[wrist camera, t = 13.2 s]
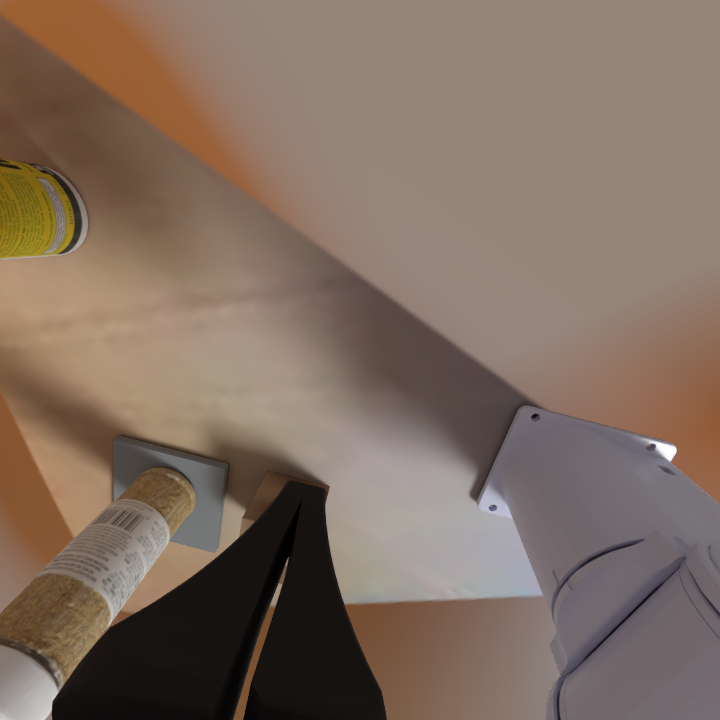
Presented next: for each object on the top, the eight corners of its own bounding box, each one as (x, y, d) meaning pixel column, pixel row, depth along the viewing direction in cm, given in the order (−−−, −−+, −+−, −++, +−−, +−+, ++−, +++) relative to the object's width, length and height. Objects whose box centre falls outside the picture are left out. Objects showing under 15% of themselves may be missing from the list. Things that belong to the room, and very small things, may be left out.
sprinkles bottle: (132, 500, 27) (-103, 743, 14) (145, 454, 25) (-107, 681, 13) (190, 525, 27) (11, 784, 14) (207, 480, 25) (21, 729, 13)
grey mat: (228, 464, 25) (225, 469, 25) (218, 546, 28) (214, 552, 28) (119, 435, 26) (113, 439, 25) (119, 520, 28) (113, 526, 28)
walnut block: (329, 486, 25) (315, 540, 21) (318, 533, 27) (302, 592, 23) (267, 469, 25) (240, 520, 21) (259, 518, 27) (232, 574, 23)
